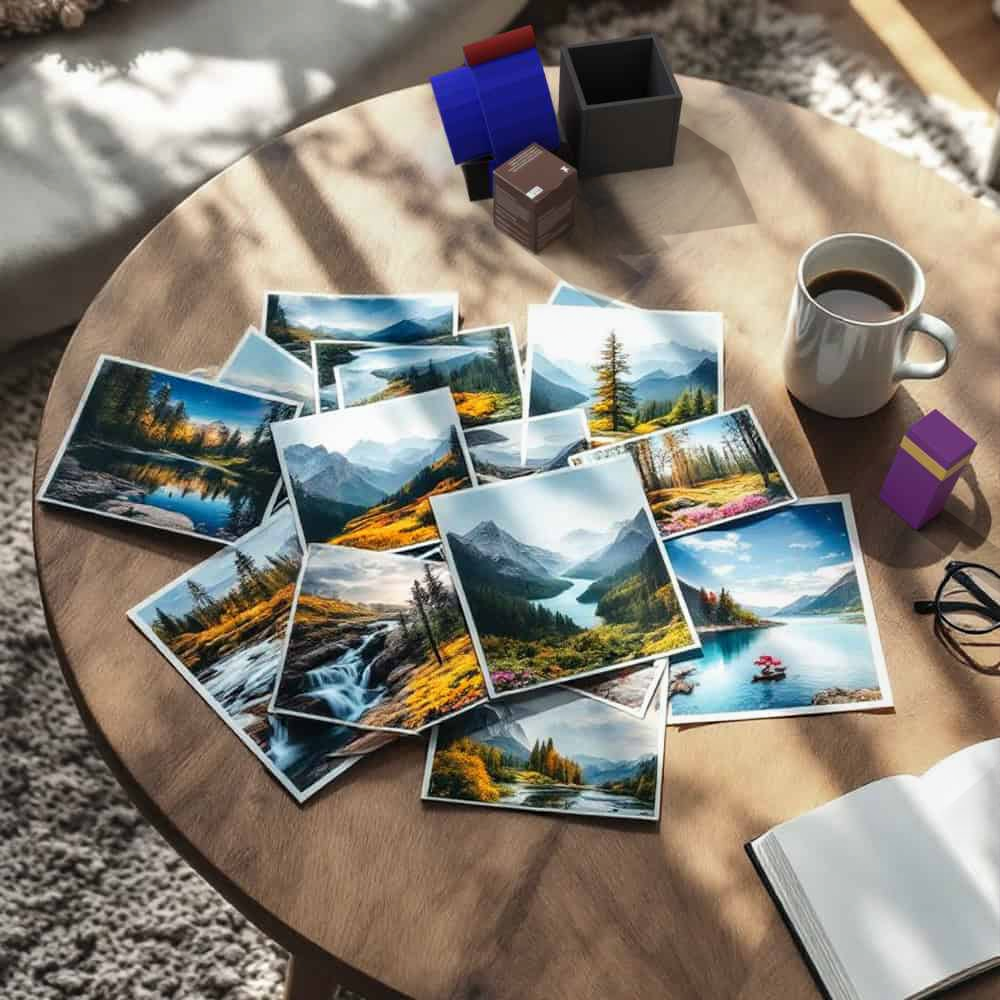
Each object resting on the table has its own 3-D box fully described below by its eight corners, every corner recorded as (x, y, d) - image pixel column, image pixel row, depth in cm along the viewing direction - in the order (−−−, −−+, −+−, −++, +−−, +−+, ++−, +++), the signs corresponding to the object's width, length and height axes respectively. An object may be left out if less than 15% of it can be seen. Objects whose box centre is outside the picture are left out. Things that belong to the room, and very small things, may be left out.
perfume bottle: (902, 477, 109) (935, 407, 100) (942, 511, 107) (979, 442, 98) (876, 496, 107) (907, 427, 99) (916, 531, 106) (951, 464, 97)
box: (534, 196, 128) (535, 140, 122) (576, 225, 126) (579, 170, 120) (491, 226, 126) (490, 170, 120) (534, 256, 123) (535, 201, 117)
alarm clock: (565, 185, 129) (571, 63, 116) (449, 204, 127) (443, 83, 115) (537, 109, 135) (539, -14, 123) (426, 127, 134) (417, 4, 122)
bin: (649, 102, 136) (657, 33, 129) (673, 165, 130) (683, 96, 123) (557, 114, 135) (560, 45, 128) (578, 178, 130) (582, 110, 122)
